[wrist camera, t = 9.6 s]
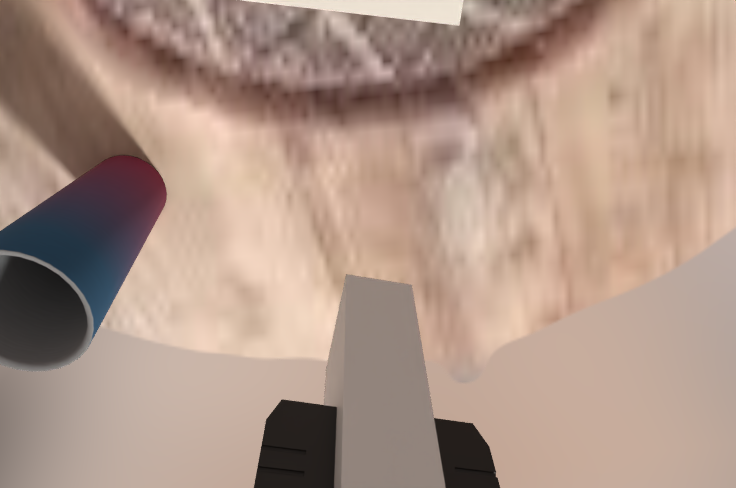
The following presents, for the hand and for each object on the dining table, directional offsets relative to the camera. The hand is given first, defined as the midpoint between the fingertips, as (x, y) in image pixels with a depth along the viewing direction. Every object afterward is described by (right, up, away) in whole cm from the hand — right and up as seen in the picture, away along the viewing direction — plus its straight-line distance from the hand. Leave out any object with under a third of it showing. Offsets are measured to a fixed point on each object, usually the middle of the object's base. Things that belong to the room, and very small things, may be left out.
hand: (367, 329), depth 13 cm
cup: (-16, +6, +27) cm, 32 cm away
